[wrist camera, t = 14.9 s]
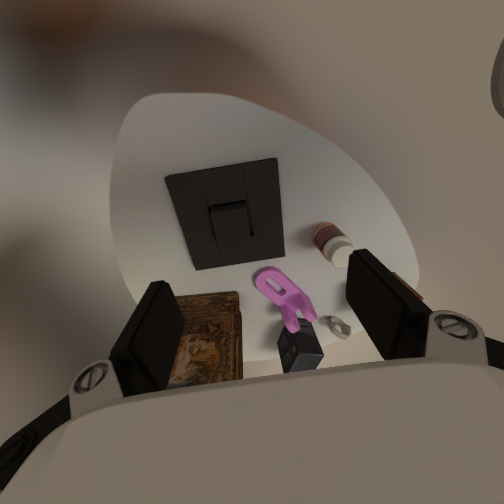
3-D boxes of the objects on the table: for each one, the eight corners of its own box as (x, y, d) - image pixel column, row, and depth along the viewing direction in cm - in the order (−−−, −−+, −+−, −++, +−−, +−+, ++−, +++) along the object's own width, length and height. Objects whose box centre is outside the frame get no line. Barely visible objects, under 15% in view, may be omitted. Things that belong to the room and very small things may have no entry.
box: (297, 344, 54) (308, 383, 46) (276, 342, 53) (283, 381, 45) (310, 319, 50) (325, 356, 41) (288, 316, 49) (299, 353, 40)
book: (166, 317, 46) (105, 480, 24) (159, 298, 43) (83, 463, 22) (241, 309, 47) (246, 464, 25) (238, 290, 44) (241, 445, 22)
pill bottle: (306, 239, 39) (322, 263, 32) (321, 217, 37) (343, 238, 30) (326, 249, 40) (346, 275, 33) (342, 228, 38) (367, 251, 31)
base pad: (275, 157, 32) (277, 158, 30) (282, 251, 40) (285, 256, 38) (167, 175, 32) (164, 177, 30) (197, 264, 40) (195, 270, 38)
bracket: (308, 297, 46) (319, 321, 40) (288, 310, 48) (296, 336, 42) (270, 261, 41) (276, 283, 35) (249, 278, 42) (251, 302, 36)
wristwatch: (338, 325, 51) (347, 343, 47) (322, 319, 50) (330, 337, 46) (346, 318, 50) (356, 335, 46) (329, 311, 49) (339, 329, 44)
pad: (244, 199, 35) (245, 207, 31) (249, 229, 37) (251, 239, 34) (212, 205, 35) (209, 213, 31) (219, 234, 37) (218, 245, 34)
